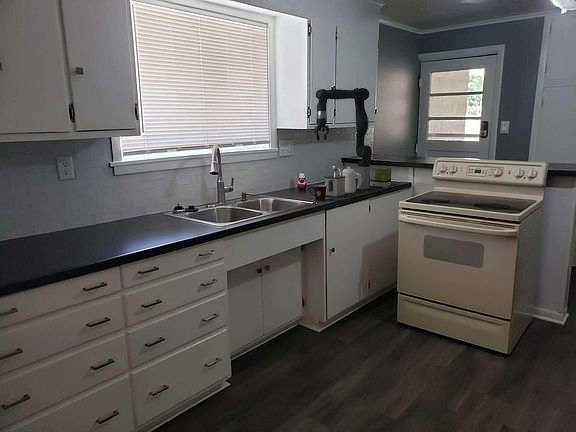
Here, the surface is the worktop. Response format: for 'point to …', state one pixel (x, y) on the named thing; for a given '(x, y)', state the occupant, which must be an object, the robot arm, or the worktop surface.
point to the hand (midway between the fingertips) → (321, 140)
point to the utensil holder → (335, 186)
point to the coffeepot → (350, 180)
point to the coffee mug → (319, 192)
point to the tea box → (380, 176)
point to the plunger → (335, 170)
